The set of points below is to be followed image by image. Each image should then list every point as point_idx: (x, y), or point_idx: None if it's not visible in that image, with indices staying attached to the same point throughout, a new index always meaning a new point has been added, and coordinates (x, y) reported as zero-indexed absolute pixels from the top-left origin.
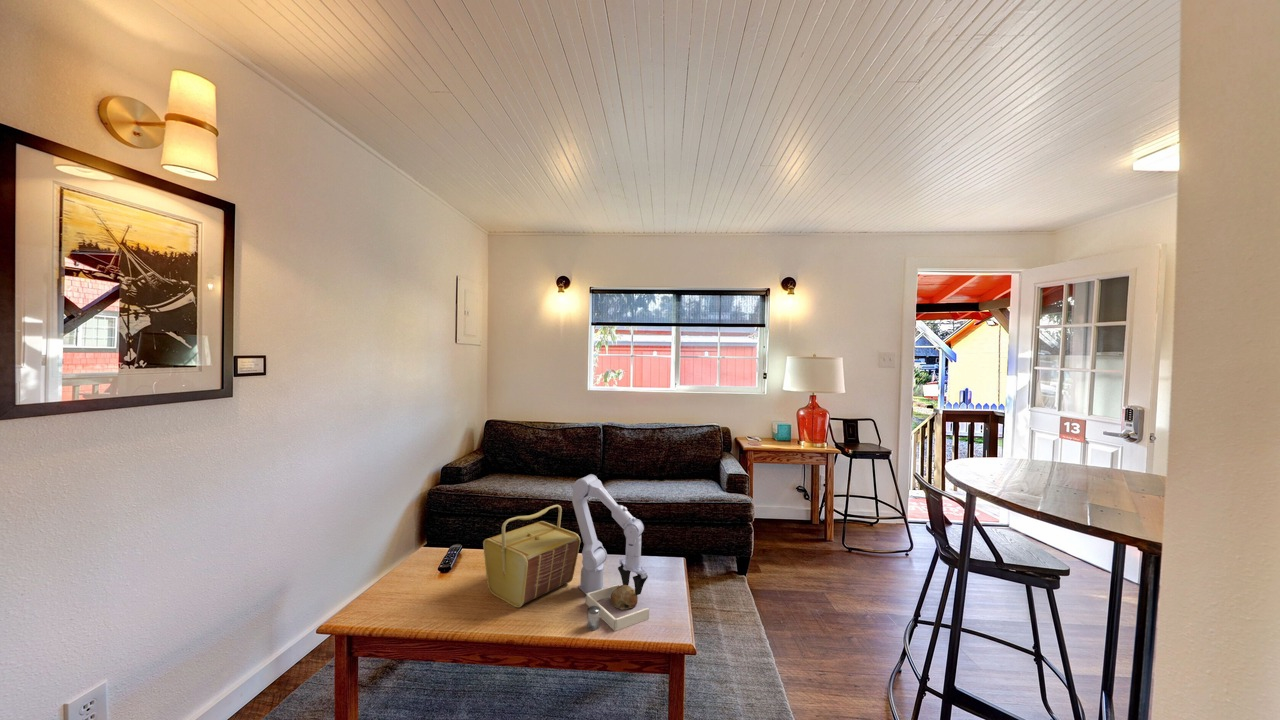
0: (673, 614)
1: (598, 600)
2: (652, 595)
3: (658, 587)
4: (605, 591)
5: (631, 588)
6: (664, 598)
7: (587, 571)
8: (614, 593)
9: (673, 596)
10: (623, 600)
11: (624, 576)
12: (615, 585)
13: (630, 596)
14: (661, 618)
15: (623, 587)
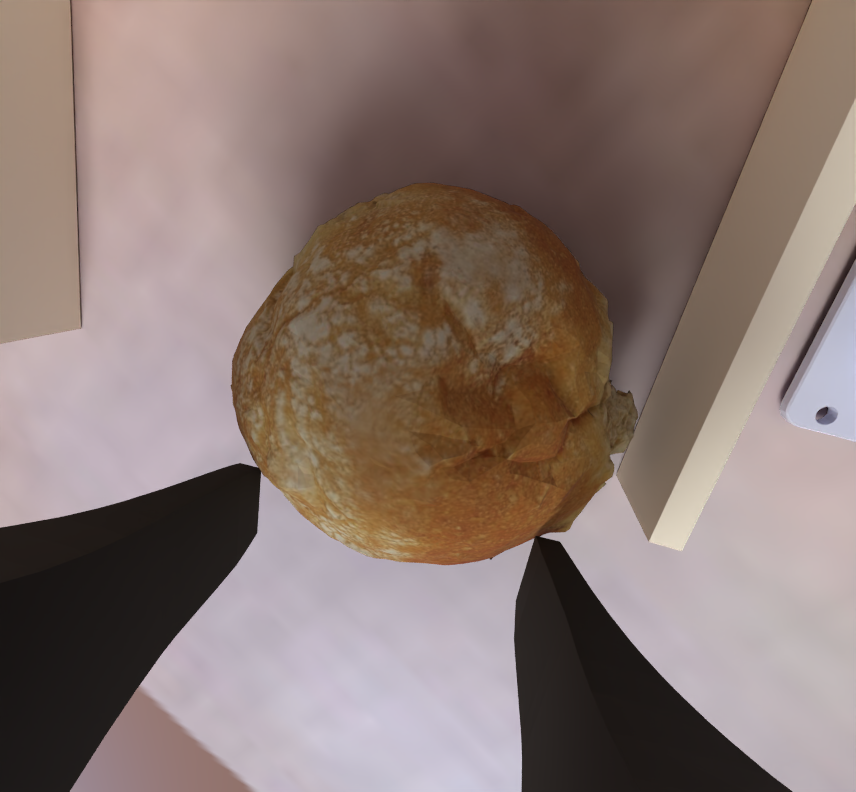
0: (20, 520)
1: (745, 163)
2: (341, 650)
3: (401, 772)
4: (743, 288)
5: (312, 504)
6: (241, 665)
7: None
8: (467, 230)
9: (221, 722)
10: (296, 259)
11: (557, 676)
12: (692, 497)
13: (234, 365)
14: (16, 408)
15: (369, 403)
